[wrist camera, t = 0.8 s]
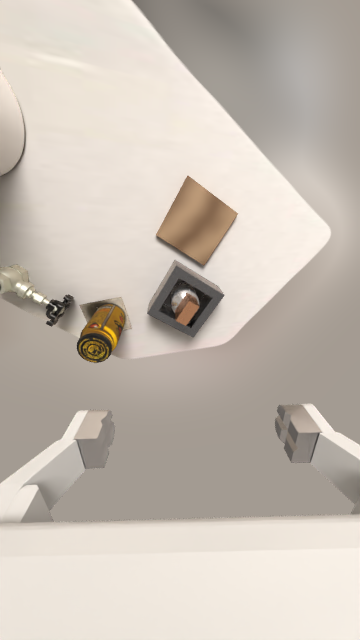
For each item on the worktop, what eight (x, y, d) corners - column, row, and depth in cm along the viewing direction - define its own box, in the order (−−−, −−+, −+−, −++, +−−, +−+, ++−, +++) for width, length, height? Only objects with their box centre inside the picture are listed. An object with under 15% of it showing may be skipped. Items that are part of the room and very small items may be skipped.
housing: (149, 303, 42) (147, 313, 38) (174, 259, 39) (176, 265, 34) (190, 325, 45) (193, 337, 41) (218, 286, 42) (224, 295, 37)
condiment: (132, 328, 45) (121, 364, 34) (93, 335, 45) (70, 373, 34) (121, 296, 42) (106, 324, 31) (79, 304, 42) (50, 335, 31)
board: (156, 234, 37) (156, 235, 36) (187, 176, 33) (187, 175, 32) (203, 264, 40) (204, 265, 39) (236, 213, 36) (238, 213, 35)
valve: (0, 282, 39) (62, 316, 43) (-30, 293, 33) (46, 333, 37) (13, 252, 37) (78, 292, 41) (-16, 259, 31) (63, 305, 35)
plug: (166, 299, 42) (166, 318, 34) (179, 278, 41) (182, 293, 33) (187, 310, 44) (191, 332, 36) (200, 290, 42) (208, 308, 34)
